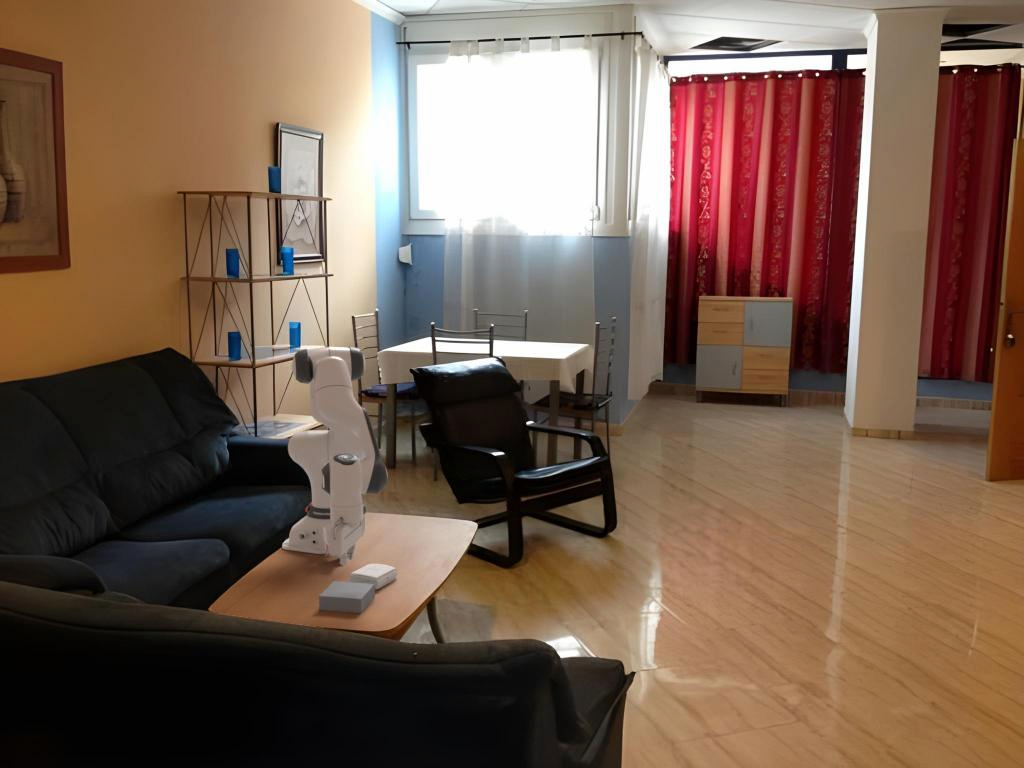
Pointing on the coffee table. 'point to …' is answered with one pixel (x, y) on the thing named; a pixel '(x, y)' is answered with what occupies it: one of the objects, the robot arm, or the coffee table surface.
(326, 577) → the coffee table surface
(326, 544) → the lily
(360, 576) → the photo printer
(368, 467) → the robot arm
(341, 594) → the slate block
